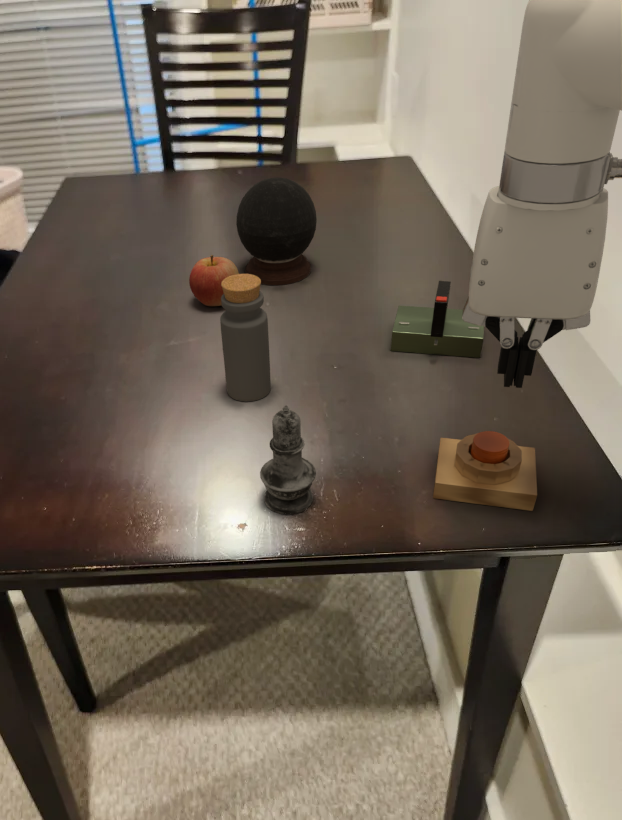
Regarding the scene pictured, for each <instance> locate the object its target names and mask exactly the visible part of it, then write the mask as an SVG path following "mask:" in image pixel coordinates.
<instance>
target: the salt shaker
mask: <svg viewBox="0 0 622 820" xmlns="http://www.w3.org/2000/svg"><path fill="white" fill-rule="evenodd" d="M271 424H272V427H271V428H272V438H271V439H270V441H269V449H270V450H271V451H272V458H271V459H269V460H268V461H266V462H265V463H264V464H263V465H262V467H261V468H260V471H259V477H260V480H261V482H262V483H263V485H264V487H265V488H266V491H265V493H264V497H263V498H264V499H263V500H264V503H265V505H266V507H267V508H268V509H269V510H270V511H272V512H274V513H276V514H280V515H285V516H287V515H297V514H301V513H302V512H304V511H306V510H308V509H309V508H310V507H311V505H312V504H313V501H314V493H313V492H312V490H311V487H312V485H313V482H314V481H315V479H316V475H317V471H316V467H315V466H314V464H313V463H312V462H310V461H309V460H308V459H306V458H304V457H303V451H302V450H303V449H304V448H305V444H306V443H305V439H304V438H303V437H302V433H301V431H302V428H301V424H302V423H301V417H300V415H299V414H298V413H297V412H296V411H294V410H291V409H290V407H289V406H288V405H287V404H285V405H284V406H283V407H282V409H281V410H279V411H277V412H276V413H275V415H273V416H272V421H271Z"/></svg>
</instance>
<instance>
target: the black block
mask: <svg viewBox="0 0 622 820" xmlns="http://www.w3.org/2000/svg"><path fill="white" fill-rule="evenodd" d="M451 284H452V282H451V281H450V280H449V281H447V280H438V284H437V289H436V294H435V299H434V304H433V308H434V312H433V320H432V328H431V335H430V336H431V337H443V332H444V326H445V320H446V314H447V309H448V307H449V299H450V292H451Z"/></svg>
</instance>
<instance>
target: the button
mask: <svg viewBox="0 0 622 820" xmlns="http://www.w3.org/2000/svg"><path fill="white" fill-rule="evenodd" d="M477 433H478V434H477ZM477 433H475V434H476V435H475V436H474V438H473V443H472V448H471V455H472V457H473V458H474V459H476V460H478V461H480V462H482V463H488V464H498V463H502V462H504V461H505V459H506V457H507V453H508V449H509V444H510V443H509V440H508V439H509V438H508V437H507V436H506V435H505V434H502V433H500V432H497V431H495V430H494V431H492V430H485V431H483V430H482V431H479V432H477Z"/></svg>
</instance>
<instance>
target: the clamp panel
mask: <svg viewBox="0 0 622 820" xmlns="http://www.w3.org/2000/svg"><path fill="white" fill-rule="evenodd" d="M433 312H434V307H430V306H428V307H427V306H411V305H398V307H397V311H396V314H395V317H394V322H393V326H392V327H393V328H392V330H391V341H390V352H398V353H413V354H425V355H437V356H450V357H462V358H473V359H475V358H476V359H480V358H481V354H482V348H483V343H484V338H485V337H484V336H485V334H484V332H485V326H478V325H475V324H471V323H467V322H465V321H463V320H462V313H463V309H460V308H459V309H457V308H447V314H446V320H445V326H444V332H443V337H431V336H430V335H431V328H432V320H433Z"/></svg>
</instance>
